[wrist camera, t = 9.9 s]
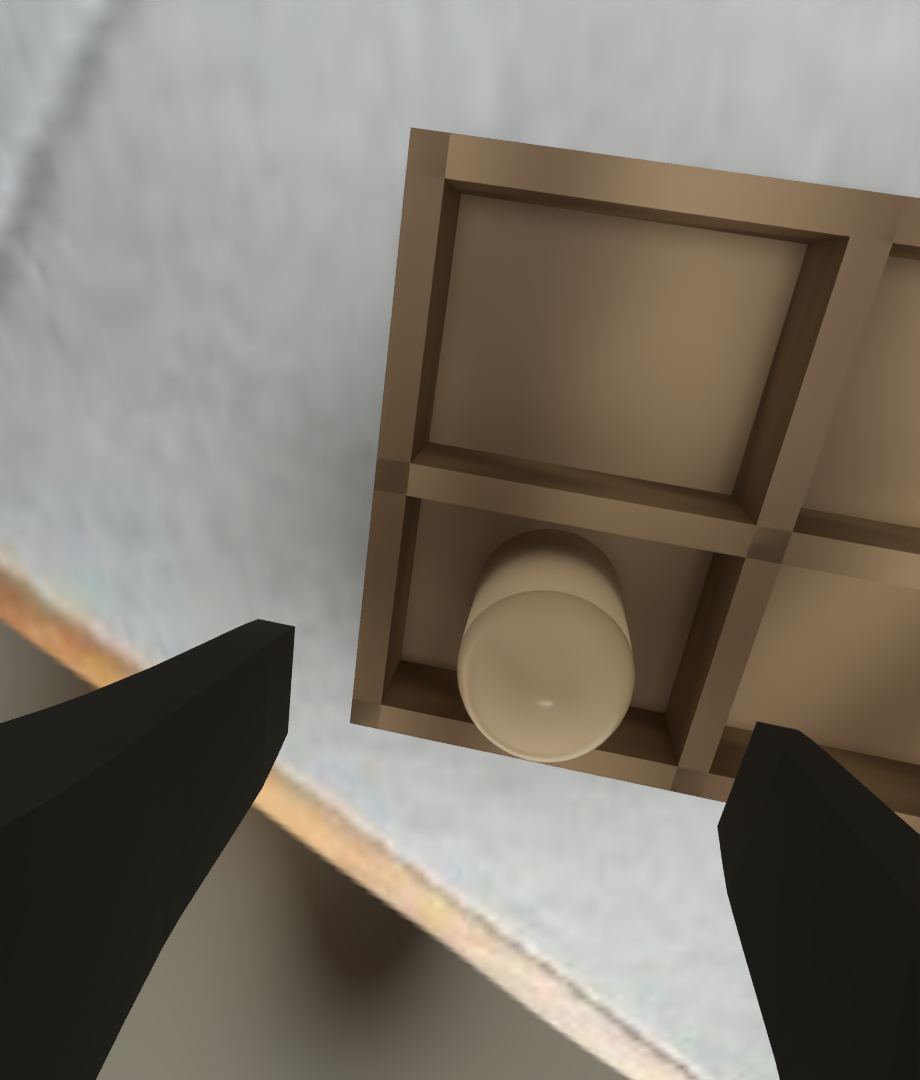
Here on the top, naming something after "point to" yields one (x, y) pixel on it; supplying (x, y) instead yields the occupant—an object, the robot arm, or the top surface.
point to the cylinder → (547, 648)
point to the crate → (658, 449)
